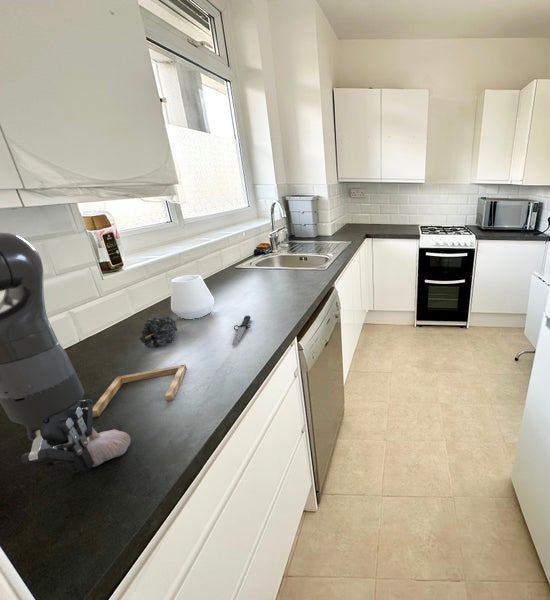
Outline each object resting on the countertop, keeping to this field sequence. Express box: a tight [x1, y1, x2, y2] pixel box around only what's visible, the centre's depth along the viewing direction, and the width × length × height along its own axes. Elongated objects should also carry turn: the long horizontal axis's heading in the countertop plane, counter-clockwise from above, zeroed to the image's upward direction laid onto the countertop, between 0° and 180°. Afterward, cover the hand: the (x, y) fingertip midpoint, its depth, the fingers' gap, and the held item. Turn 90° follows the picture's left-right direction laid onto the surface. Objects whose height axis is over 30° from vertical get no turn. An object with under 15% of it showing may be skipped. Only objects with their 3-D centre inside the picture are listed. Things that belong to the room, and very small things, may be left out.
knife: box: [231, 315, 252, 346], centre depth 100 cm, size 19×2×5 cm
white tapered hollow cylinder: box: [170, 274, 215, 319], centre depth 111 cm, size 13×13×14 cm
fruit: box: [139, 315, 178, 348], centre depth 95 cm, size 9×8×15 cm
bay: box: [93, 364, 188, 418], centre depth 73 cm, size 13×14×2 cm
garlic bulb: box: [87, 426, 132, 468], centre depth 54 cm, size 8×7×8 cm
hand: (83, 470), depth 50 cm, fingers closed
